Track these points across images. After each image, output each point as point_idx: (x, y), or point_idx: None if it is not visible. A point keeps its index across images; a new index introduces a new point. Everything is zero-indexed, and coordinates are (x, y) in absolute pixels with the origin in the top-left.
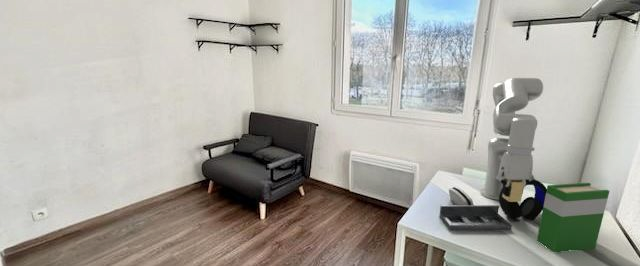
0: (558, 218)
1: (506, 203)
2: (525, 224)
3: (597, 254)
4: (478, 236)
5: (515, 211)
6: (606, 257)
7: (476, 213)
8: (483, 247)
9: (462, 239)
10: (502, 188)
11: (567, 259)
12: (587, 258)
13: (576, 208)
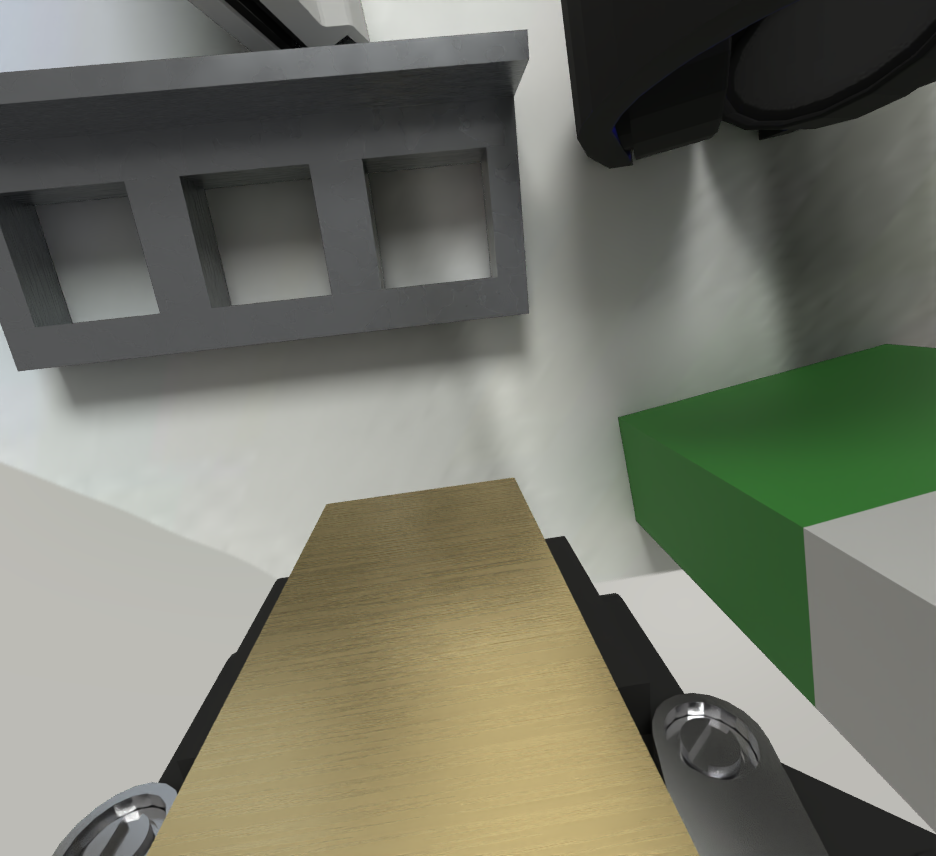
0: (787, 661)
1: (581, 111)
2: (677, 202)
3: None
4: (259, 415)
5: (649, 148)
6: None
7: (304, 119)
8: (255, 530)
9: (138, 466)
10: (197, 717)
11: (664, 565)
12: None
13: None
